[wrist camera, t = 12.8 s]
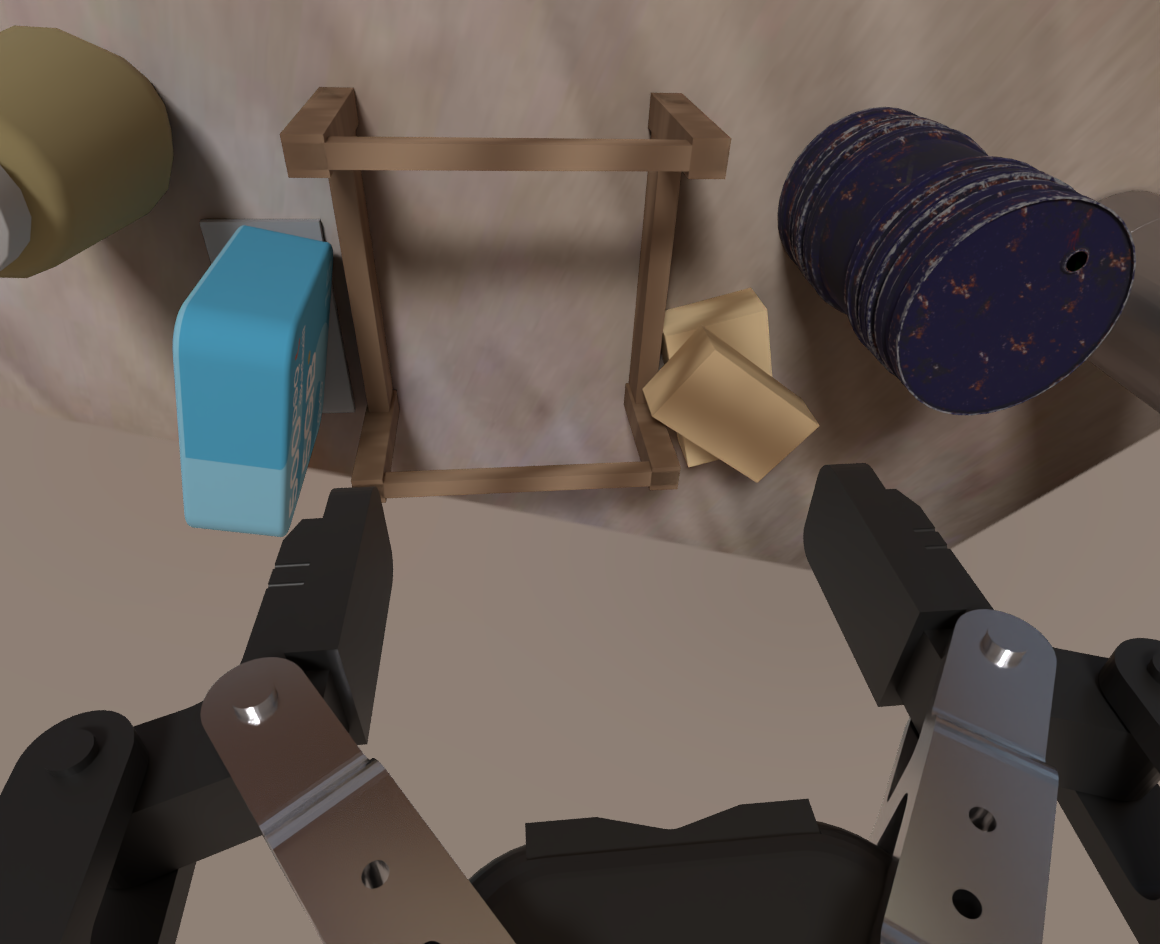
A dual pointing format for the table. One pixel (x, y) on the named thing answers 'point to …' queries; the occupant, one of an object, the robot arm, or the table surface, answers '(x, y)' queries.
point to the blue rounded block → (252, 380)
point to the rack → (333, 151)
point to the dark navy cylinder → (954, 259)
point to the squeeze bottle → (73, 147)
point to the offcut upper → (728, 405)
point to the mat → (336, 374)
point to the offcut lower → (731, 321)
